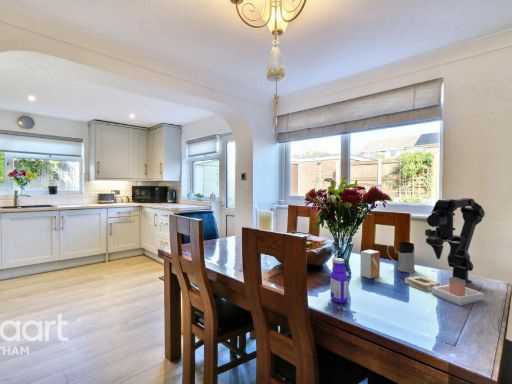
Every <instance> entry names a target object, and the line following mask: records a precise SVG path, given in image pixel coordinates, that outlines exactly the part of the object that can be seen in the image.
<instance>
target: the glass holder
mask: <svg viewBox="0 0 512 384" xmlns="http://www.w3.org/2000/svg"><path fill="white" fill-rule="evenodd" d="M390 246H392V247H394V251H395V252H394V253H397V254H398V262H397V261H396V260H395V259H393V258H392V257H391V256H390V253H389V247H390ZM386 252H387V255H388V257H389V258H390V259H391V260H392V261H393V262H395V264H397V270H398V271H399V272H404V273H415V272H416V270H415V243H413V242H409V241H408V242H407V241H400V242H398V251H397V249H396V246H395V245H393V244H389V245H388V246H387V249H386Z"/></svg>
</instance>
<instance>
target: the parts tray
mask: <svg viewBox="0 0 512 384" xmlns="http://www.w3.org/2000/svg"><path fill="white" fill-rule="evenodd" d="M431 295H433V296H435V297H438V298H441V299H443V300H445V301H448V302H449V303H453V304H456V305H457V306H463V305H469V304H473V303H478V302H479V303H480V302H484V301H485V293H484V292H481V291H478V290H476V289H472V288H469V287H466V286H465V296H460V297H459V296H456V295H453V294H451V293H449V284H445V285H441V286H437V287H432V290H431Z"/></svg>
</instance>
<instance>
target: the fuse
mask: <svg viewBox="0 0 512 384" xmlns="http://www.w3.org/2000/svg"><path fill="white" fill-rule="evenodd" d="M448 279H449V283H448V285H449V293H451V294H453V295H456V296H459V297H460V296H465V287H466V283H465V281H466V280H463V279H459V278H456V277H453V276H452V277H449V278H448Z"/></svg>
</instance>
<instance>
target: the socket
mask: <svg viewBox="0 0 512 384" xmlns="http://www.w3.org/2000/svg"><path fill="white" fill-rule="evenodd" d="M404 283H405V284H406V285H409V286H412V287H414V288H417V289H418V290H420V291H424V292H427V291H428V292H429V291H432V287H437V286H442V284H441V282H438V281H436V280H432V279H429V278H427V277H423V276H421V275H415V276H410V277H404Z"/></svg>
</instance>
